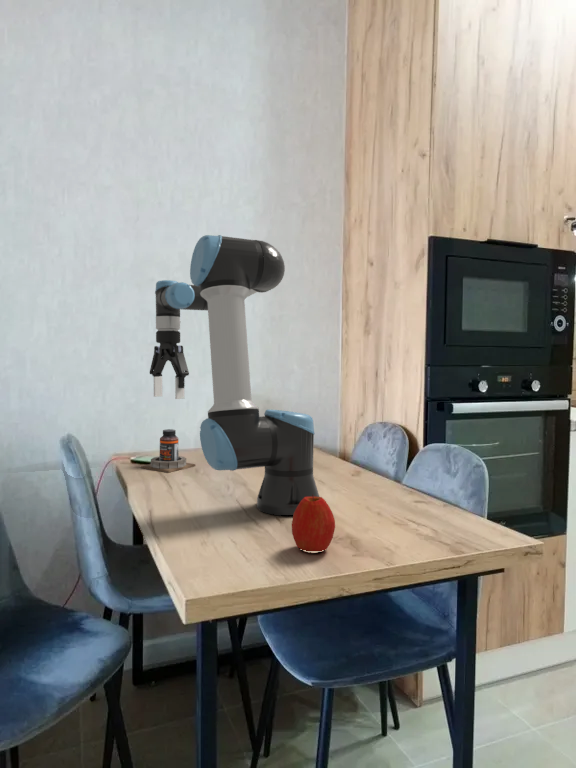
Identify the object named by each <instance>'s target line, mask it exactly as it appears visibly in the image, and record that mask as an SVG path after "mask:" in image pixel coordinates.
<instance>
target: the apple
mask: <svg viewBox="0 0 576 768" xmlns="http://www.w3.org/2000/svg"><path fill="white" fill-rule="evenodd" d="M312 496H313V495H312ZM335 519H336V518H335V516H334V514H333V511H332V510H331V507H330V505H329V504H328V502H327V501H326V499H324V498H323V497H322V496H319V497H314V496H313V497H304V498H303V499H302V500H301V502H300V503H299V505H298V506H297V508H296V510H295V512H294V515H293V516H292V521H291V534H292V537H293V538H292V539H293V540H294V542H295V545H296V546H297V548H298V549H299V548H300V549H302V550H306V551H322V550H325V549H326V550H327V549H328V548H329V546H330V545H331V542H332V540H333V538H334V534H335V529H336V520H335ZM300 549H299V550H300Z"/></svg>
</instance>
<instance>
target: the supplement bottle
mask: <svg viewBox="0 0 576 768" xmlns="http://www.w3.org/2000/svg"><path fill="white" fill-rule="evenodd" d="M179 443H180V442H179V437H178V436H177V435H176V430H175V429H173V428H171V429H163V430H162V435H161V437H160V438H159V456H160V461H166V462H169V461H177V460H178V456H179Z"/></svg>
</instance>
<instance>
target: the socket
mask: <svg viewBox="0 0 576 768" xmlns="http://www.w3.org/2000/svg"><path fill="white" fill-rule="evenodd" d="M193 467H196V464H195V463H190V462H187V458H186V457H185V456H181V455H178V460H177V461H169V462H166V461H160V455H159V456H156V457H152V458H151V459H150V463H149V464H144V465H141V466H140V468H141V469H146V470H150V471H151V470H152V471H157V472H162V473H167V474H168V473H173V472H177V471H180V470H181V471H182V470H185V469H190V468H193Z"/></svg>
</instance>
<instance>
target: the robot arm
mask: <svg viewBox="0 0 576 768" xmlns="http://www.w3.org/2000/svg"><path fill="white" fill-rule="evenodd" d="M189 267H190V270H189V277H190V280H191V284H188V283H186V282H182V281H181V282H179V281H176V280H169V279H167V280H166V279H163V280H158V281H156V283H155V292H154V294H155V330H157V331H156V332H155V342H156V343H157V344H159V345H155V346H154V349H153V356H152V361H151V365H150V368H149V375H151V376H152V377H153V397H154V398H157V397H163V374H162V373H163V371H164V368H165V366H166V364H167V362H170V364H171V365H172V369H173V370H174V373H175V376H174V377H175V378H174V379H175V381H174V385H175V386H174V387H175V391H174V392H175V400H183V399H185V386H186V385H185V378H186V377H187V376H189V375H190V372H189V369H188V364H187V361H186V358H185V353H184V346H183V345H177V344H180V343H181V332H180V331H179V330H181V310H187V311H189V310H190V311H207V315H208V318H207V319H208V331H209V344H210V345H209V347H210V361H211V362H210V365H211V378H212V392H213V393H212V394H213V405H212V406H211V407H210V408H209V409H208V411H207V418H206V419H204V420H202V422H201V423H200V427H199V428H200V431H199V440H200V447H201V450H202V453H203V456H204V458H205V460H206V462H207V463H208V465H209V466H210V467H211V468H212V469H214V470H215V471H238V470H245V469H253V468H254V469H255V468H263V467H264V476H263V480H262V482H261V486H260V489H259V491H258V495H257V496H256V507H257V509H258V510H259V511H261V512H262V513H265V514H268V515H273V514H274V515H275V516H281V515H294V512H295V510H296V508H297V506H298V505H299V503H300V502H301V500H302V499H303V498H304V497H313V496H314V497H320V494H319V490H318V487H317V484H316V481H315V477H314V448H315V447H314V443H315V442H314V440H315V439H314V436H315V426H314V419H313V417H312V416H311V415H309V414H307V413H303V412H298V411H297V412H296V411H290V410H289V411H288V410H282V409H281V410H280V409H266V410H265V411H264V413H263V414H264V416H260V409H259V407H258V406H257V405H256V404H255V403H254V402H253V401H252V391H251V390H252V389H251V375H250V374H251V373H250V361H249V360H250V359H249V347H248V345H249V344H248V336H247V335H248V334H247V318H246V307H245V306H246V304H245V299H247V298H249V297H251V296H252V295H254V294H257V293H259V294H260V293H267V292H269V291H271V290H273V289H275V288H276V287H278V286H279V284H280V283H281V282H282V281H283V278H284V276H285V270H286V265H285V261H284V259H283V256H282V255H281V253H280V251H278V249H277V248H276V247H275V246H274V245H272V244H270V243H269V242H267V241H264V240H258V239H249V238H240V237H232V236H231V237H230V236H225V235H221V234H217V235H209V234H207V235H205V234H204V235H202V237H200V238H199V239H198V240H197V242H196V244H195V246H194V249H193V252H192V255H191V261H190V266H189ZM312 495H313V496H312Z"/></svg>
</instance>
